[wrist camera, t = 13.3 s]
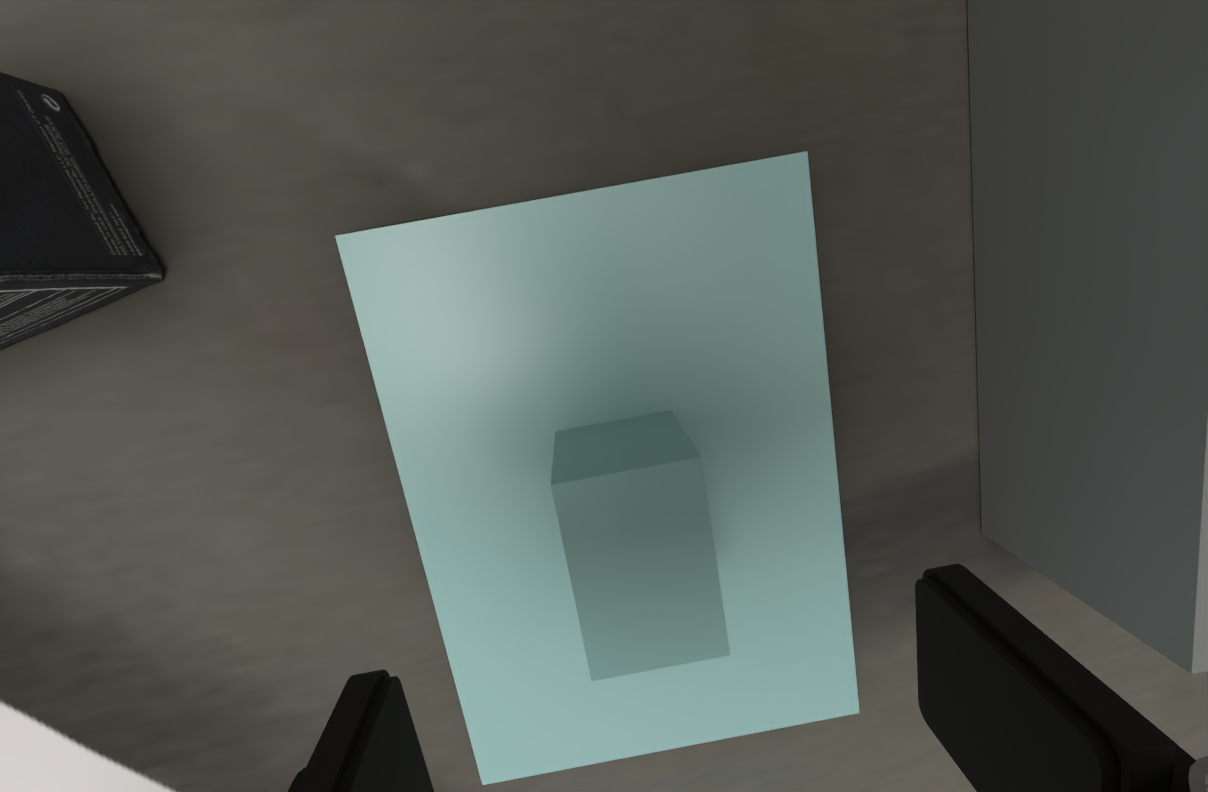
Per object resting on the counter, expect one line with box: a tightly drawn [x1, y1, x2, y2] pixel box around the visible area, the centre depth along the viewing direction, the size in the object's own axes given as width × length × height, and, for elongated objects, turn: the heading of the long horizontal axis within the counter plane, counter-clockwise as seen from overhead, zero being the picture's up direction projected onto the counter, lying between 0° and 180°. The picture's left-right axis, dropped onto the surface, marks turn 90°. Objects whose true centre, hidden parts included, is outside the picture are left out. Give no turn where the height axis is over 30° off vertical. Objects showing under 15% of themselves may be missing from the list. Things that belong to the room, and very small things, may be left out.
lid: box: [335, 151, 859, 785], centre depth 20 cm, size 21×15×6 cm
